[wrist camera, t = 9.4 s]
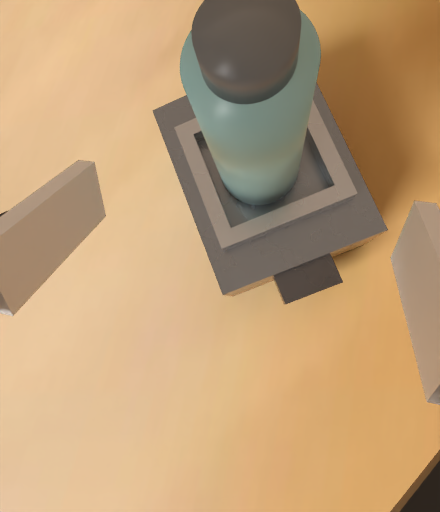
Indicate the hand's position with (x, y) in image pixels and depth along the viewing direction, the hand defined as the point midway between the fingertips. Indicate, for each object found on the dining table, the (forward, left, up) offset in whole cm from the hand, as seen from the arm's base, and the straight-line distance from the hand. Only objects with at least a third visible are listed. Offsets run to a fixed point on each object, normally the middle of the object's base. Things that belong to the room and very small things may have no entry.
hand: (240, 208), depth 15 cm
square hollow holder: (-4, +2, -14) cm, 15 cm away
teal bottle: (-4, +2, -8) cm, 9 cm away
